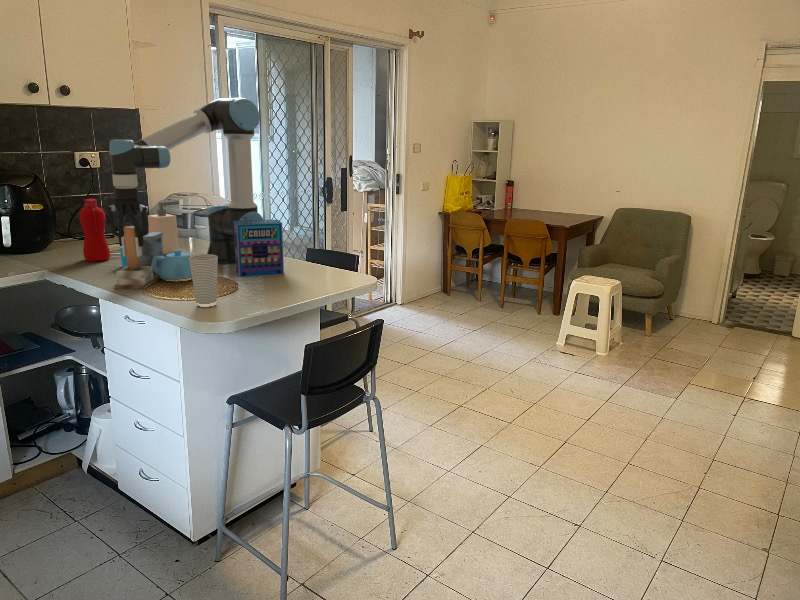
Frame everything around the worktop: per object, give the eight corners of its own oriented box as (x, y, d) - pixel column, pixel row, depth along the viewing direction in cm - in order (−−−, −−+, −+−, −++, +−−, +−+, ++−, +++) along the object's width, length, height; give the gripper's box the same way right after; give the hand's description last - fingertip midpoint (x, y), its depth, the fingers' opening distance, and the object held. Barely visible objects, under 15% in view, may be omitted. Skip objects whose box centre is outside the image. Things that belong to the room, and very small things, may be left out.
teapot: (179, 272, 229) (177, 244, 226) (210, 276, 223) (208, 248, 220) (148, 280, 215) (145, 251, 212) (180, 285, 210) (178, 255, 207)
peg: (141, 265, 209) (138, 226, 205) (137, 268, 205) (133, 228, 201) (130, 265, 209) (126, 226, 205) (125, 268, 205) (121, 227, 201)
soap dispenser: (161, 254, 259) (157, 203, 253) (150, 252, 264) (146, 202, 257) (187, 250, 268) (183, 201, 262) (176, 248, 273) (172, 200, 267)
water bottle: (88, 263, 238) (80, 201, 232) (83, 259, 247) (75, 198, 240) (113, 261, 244) (106, 200, 237) (107, 256, 252) (100, 197, 245)
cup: (208, 310, 181) (205, 260, 177) (186, 307, 184) (182, 258, 180) (226, 303, 189) (223, 255, 185) (204, 300, 192) (201, 253, 188)
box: (279, 269, 236) (277, 219, 230) (283, 274, 228) (282, 222, 222) (236, 272, 230) (233, 220, 224) (239, 277, 222) (236, 224, 216)
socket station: (166, 275, 223) (162, 232, 218) (145, 289, 203) (141, 242, 199) (136, 275, 222) (132, 232, 218) (113, 288, 203) (107, 241, 199)
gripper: (155, 186, 203) (161, 253, 210) (105, 185, 203) (112, 253, 209) (147, 188, 196) (153, 258, 202) (94, 187, 195) (102, 257, 202)
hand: (132, 255), depth 206 cm, fingers closed on peg, 4 cm apart
